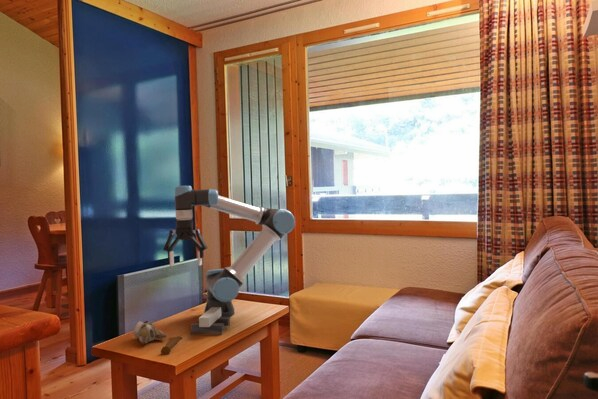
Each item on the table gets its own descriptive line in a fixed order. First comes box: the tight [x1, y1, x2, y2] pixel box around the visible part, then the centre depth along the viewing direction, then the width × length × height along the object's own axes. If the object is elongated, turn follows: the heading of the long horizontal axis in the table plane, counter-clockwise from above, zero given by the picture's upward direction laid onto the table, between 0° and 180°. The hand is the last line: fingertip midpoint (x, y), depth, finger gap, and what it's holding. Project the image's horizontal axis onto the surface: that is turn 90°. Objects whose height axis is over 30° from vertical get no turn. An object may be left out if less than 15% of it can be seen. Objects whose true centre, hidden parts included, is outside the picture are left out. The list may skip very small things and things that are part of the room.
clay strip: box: [198, 307, 221, 327], centre depth 184 cm, size 16×4×4 cm, turn 172°
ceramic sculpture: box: [133, 320, 168, 345], centre depth 173 cm, size 11×9×15 cm
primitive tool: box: [160, 335, 183, 356], centre depth 167 cm, size 19×6×4 cm, turn 7°
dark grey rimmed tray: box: [190, 316, 231, 336], centre depth 184 cm, size 12×14×4 cm
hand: (186, 265), depth 188 cm, fingers open, 13 cm apart
